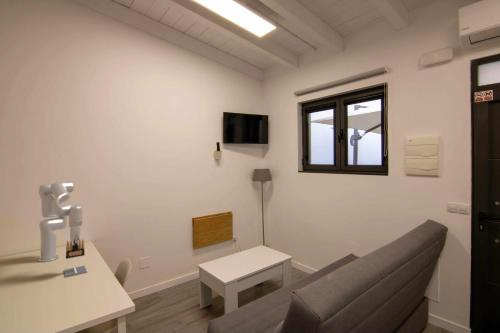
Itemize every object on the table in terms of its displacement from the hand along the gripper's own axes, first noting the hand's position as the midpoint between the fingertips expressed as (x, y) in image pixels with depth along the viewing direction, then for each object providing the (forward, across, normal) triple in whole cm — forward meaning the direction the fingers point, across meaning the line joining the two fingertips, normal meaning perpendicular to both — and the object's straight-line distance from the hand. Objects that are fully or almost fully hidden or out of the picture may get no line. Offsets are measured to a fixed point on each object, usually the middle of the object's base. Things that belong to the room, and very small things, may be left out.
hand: (75, 250), depth 174 cm
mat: (+15, 0, 0) cm, 15 cm away
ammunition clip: (+5, 0, 0) cm, 5 cm away
